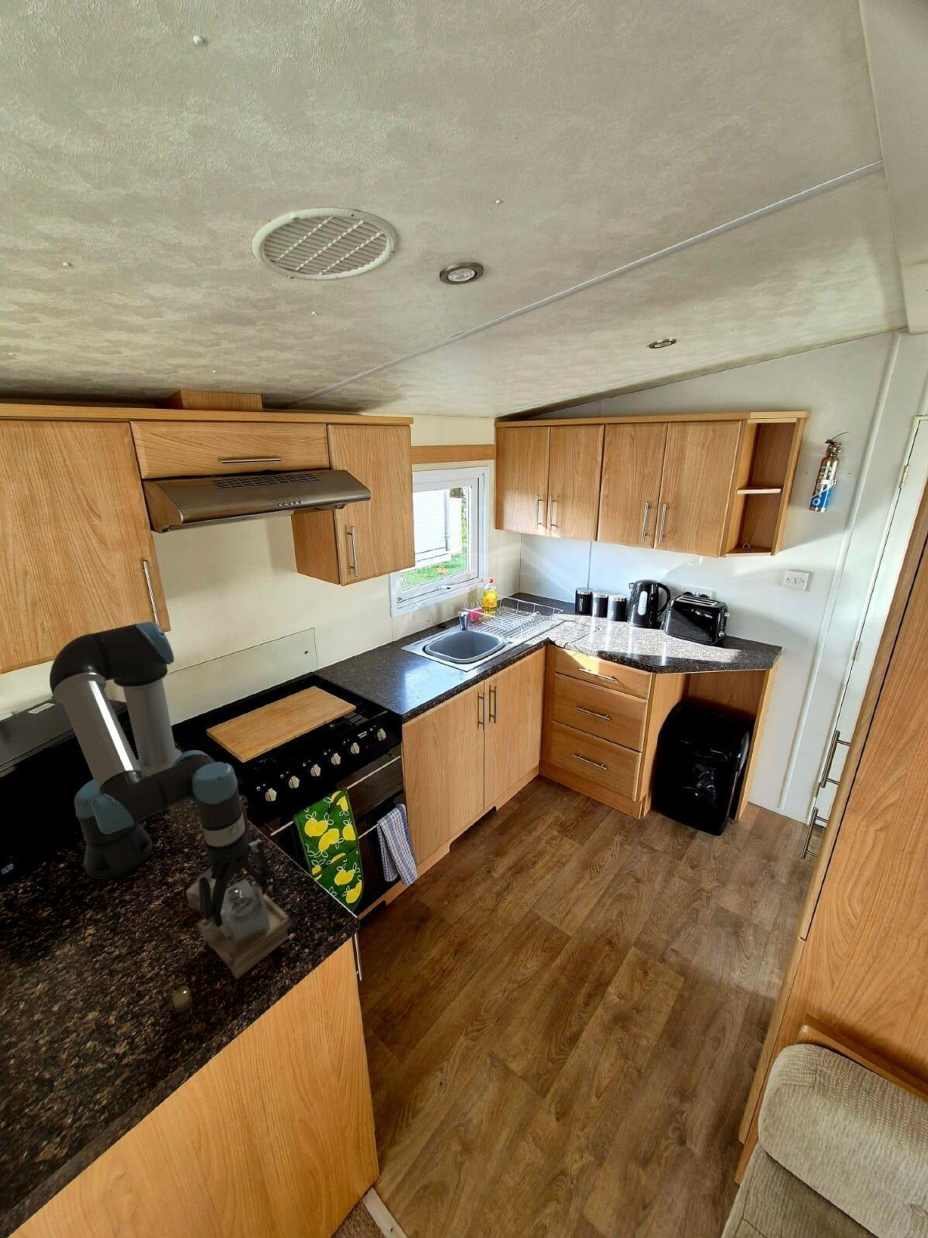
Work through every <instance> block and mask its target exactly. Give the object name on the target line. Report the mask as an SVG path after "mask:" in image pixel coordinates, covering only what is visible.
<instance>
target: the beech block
mask: <svg viewBox="0 0 928 1238" xmlns="http://www.w3.org/2000/svg"><path fill="white" fill-rule="evenodd" d="M215 881H216V879H215V878H212V877H211V882H210V883H209V884H210V888H211V900H212V895H213V890H214V886H215ZM185 894H186V898H187V902H188V905H189V908H191V909H194V910H196V911H199V912H200V896H199V883H198V881H197V880H196V881H195V882H194V883H193V884H192V885H191V886H190V887H189V888H188V889H187V890H186V891H185Z"/></svg>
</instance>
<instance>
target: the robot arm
mask: <svg viewBox="0 0 928 1238" xmlns="http://www.w3.org/2000/svg"><path fill="white" fill-rule="evenodd" d="M174 662H175V656H174V652H173V649H172V646H171V644H170V642H169V640H168V638H167V636H166V634H165V632H164V631H163V629H162V628H161V627H160V626H159V624H158V623H156V622H154V621H146V622H140V623H136V622H135V623H133V624H130V625H125V626H120V627H116V628H112V629H107V630H102V631H98V632H94V633H87V634H83V635H80V636H78V637H76V638H73V639H72V640H71V641H69V642H68V643H66V645H65V646H63V647H62V649H61V650H60V651H59V652H58V654H57V656H56V657H55V659H54V661H53V663H52V665H51V668H50V673H49V687H50V690H51V693H52V696H53V698H54V700H55V701H56V702H57V703H59V704H62V705H63V707H64V710H65V712H66V714H67V717H68V719H69V722H70V724H71V726H72V727H71V728H72V729H73V731H74V734H75V736H76V738H77V741H78V744H79V746H80V749H81V751H82V753H83V756H84V759H85V762H86V764H87V765H88V768H89V771H90V773H91V776H92V780H90V781H88V782H86V784H84V785H83V786H82V787H81V788H80V789H79V790H78V791H77V793H76V794H75V796H74V801H73V804H74V807H75V816H76V818H78V821H79V824H80V826H81V830H82V834H83V838H84V840H85V843H86V845H85V852H84V853H85V855H84V860H83V867H84V869H85V872H86V875H87V876H88V877H89V878H90V879H93V880H94V879H95V880H108V879H113V878H117V877H119V876H121V875H124V874H126V873H128V872H130V871H132V870H134V869H135V868H137V867H138V866H140V865H141V864H142V863H143V862H144V861H145V860H147V858H148V857H149V855H150V854H151V852H152V849H153V842H152V839H151V836H150V834H149V833H147V831H146V829H144V828H143V826H141V824H139V822H141V821H143V820H145V819H147V818H149V817H151V816H153V815H156V814H158V813H160V812H162V811H165V810H168V809H170V808H173V807H174V806H176V805H178V804H180V803H183V802H186V801H188V800H192V801H193V802H194V804H195V805H196V808H197V811H198V813H199V818H200V823H201V826H202V827H201V828H202V832H203V837H204V841H205V845H206V849H207V850H206V851H207V854H208V858H209V865H208V869H206V871H204V872H203V873H201V872H199V873H197V874H196V875H195V878H194V879H195V880H196V881H198V883H199V896H200V911H199V913H200V915H201V916H202V917H203V919H206V920H209V919H210V918H211V917H212V918H213V922H214V924H215V925H216V926H217V927H220V930H221V932H222V933H223V934H224V935H225V937H226V938H228V937H229V936H230V933H229V928H228V924H227V918H226V914H225V911H224V910H223V909H222V905H223V900H224V895H225V891H226V889H227V885H228V884H229V882H230V878H231V877H232V876H233V875H235V874H236V873H238V872H240V871H241V870H243V869H244V871H246V872H247V873H248V874H249V875H250V877H252V879H254V881H252V882H251V886H252V887H253V890H254V892H255V893H256V895H257V896H258V898H259V899H260V901H261V902H262V904H263V906H264V907H265V904H264V899H263V895H264V894H266V893H267V889H266V888H267V887H266V886H267V885H268V882H267V879H270V878H271V877H272V876H273V872H272V869H271V867H270V864H269V862H268V858H267V856H266V853H265V843H264V842H263V841H262V840H261V839H260V838H258V837H255V838H254V839H253V840H252V843H250V844H248V839H247V834H246V830H245V824H244V819H243V814H242V809H241V803H240V801H241V800H240V798H241V797H240V792H239V787H238V778H237V776H236V774H235V770H234V768H233V766H232V765H231V764H229V763H227V762H225V763H224V762H222V761H217V762H216V761H215V760H214V759H213V757H211V756H209V755H208V754H207V753H205V752H204V751H201V750H199V749H198V750H196V749H193V750H187V751H185V752H182V751H181V750H180V749H178V748H176V746H175V741H174V733H173V730H172V729H173V728H172V724H171V720H170V713H169V708H168V702H167V698H166V692H165V687H164V682H163V679H164V678H165V677H166V676H167V675H168V673H169V670H168V666H170V665H171V664H173V663H174ZM111 680H113V682H114V684H115V686H118V687H121V688H122V689H123V693H124V694H123V695H124V698H125V703H126V707H127V711H128V716H129V721H130V725H131V731H132V733H133V738H134V742H135V747H136V751H137V756H138V759H137V758H136V756H135V754H134V751H133V750H132V748H131V747H132V746H131V745H130V744H129V743H130V742H129V741H128V739H127V736H126V735H125V731H124V730H123V727H122V726H121V723H120V722H119V719H118V716H117V715H116V713H115V710H114V708H113V707H112V704H111V702H110V699H109V697H108V696H107V693H106V691H105V689H106V688H107V682H108V681H111ZM251 852H253V854H254V856H255V859H256V861H257V863H258V864H257V865H258V867H259V869H260V871H261V872H260V873H259V872H257V870H256V869H254V868H253V867H254V866H252V865H251V864H250V863H249V862H248V858H249V857H250V854H251ZM213 875H214V879H216V881H215V886H214V890H213V895H212V900H211V888H210V884H209V883H210V882H211V878H212V876H213ZM266 895H267V894H266Z"/></svg>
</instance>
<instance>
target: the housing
mask: <svg viewBox="0 0 928 1238" xmlns="http://www.w3.org/2000/svg"><path fill="white" fill-rule="evenodd" d="M251 886H252V885H251V884H250V883H249V881H248V880H247V878H245V879H243V880H240V881H238V882H237V883H235V884H233V885H232V886H230V887H228V888H226V891H225V895H224V900H223V905H222V909H223V910H224V911H225V914H226V918H227V924H228V928H229V933H230V937H231V939H232V941H233V943H234V945H235V946H236V948H237V950H238V949H240V948H241V947H243V946H245V945H246V944H248V943H249V942H251V941H252V940H254V939H256V938H257V937H259V936H260V935H262V934H263V933H265V932H266V931H268V930H270V923H269V918H268V913H267V910H266V909H265V907H264V906H263V904H262V902H261V901H260V899H259V898H258V896H257V895H256V893H255V892H254V890H253V889H252V887H251Z"/></svg>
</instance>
